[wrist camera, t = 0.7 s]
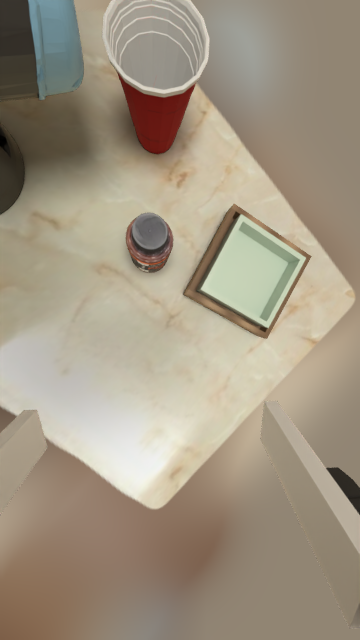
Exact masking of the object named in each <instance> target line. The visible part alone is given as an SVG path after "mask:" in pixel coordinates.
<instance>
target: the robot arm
mask: <svg viewBox="0 0 360 640" xmlns="http://www.w3.org/2000/svg"><path fill="white" fill-rule="evenodd" d="M83 75H84V63H83V55H82V48H81V41H80V35H79V29H78V23H77V17H76V11H75V5H74V0H0V102H1V101H10V100H19V99H28V98H37V97H38V98H39V100H44V99H45V97H46V96H49V95H54V94H60V93H66V92H71V91H74V90H76V89H77V88H78V87H79V86H80V84H81V82H82V79H83ZM23 181H24V164H23V159H22V156H21V153H20V150H19V148H18V146H17V144H16V142H15V141H14V139H13V138H12V136H11V135H10V134H9V132H8V131H7V130H6V129H5V128H4V127H3V125H2V124H1V123H0V213H2V212H4V211H5V210H7V209H8V208H9V207H10V206H11V205H12V204H13V203H14V202H15V200H16V199H17V197H18V196H19V194H20V192H21V189H22V186H23ZM260 439H261V441H262V444H263V446H264V448H265V450H266V452H267V454H268V456H269V459H270V461H271V462H272V465H273V467H274V469H275V471H276V473H277V476H278V478H279V480H280V482H281V484H282V486H283V488H284V490H285V492H286V495H287V497H288V499H289V501H290V503H291V505H292V507H293V510H294V511H295V514H296V516H297V518H298V520H299V522H300V524H301V526H302V529H303V531H304V533H305V535H306V537H307V539H308V541H309V544H310V545H311V548H312V550H313V552H314V554H315V556H316V559H317V561H318V563H319V565H320V567H321V569H322V571H323V573H324V576H325V578H326V580H327V582H328V584H329V586H330V588H331V591H332V592H333V595H334V597H335V599H336V601H337V603H338V605H339V607H340V610H341V612H342V614H343V616H344V618H345V620H346V622H347V624H348V626H349V628H360V488H359V487H358V485H357V484H356V483H355V482H354V481H353V479H351V478H350V477H349V476H348V475H346V474H345V473H344V472H343V471H342V470H340V469H339V468H325V466H324V465H323V464H322V462H321V461H320V460H319V458H318V457H317V455H316V454H315V453H314V451H313V450H312V448H311V447H310V446H309V444H308V443H307V442H306V440H305V439H304V437H303V436H302V435H301V433H300V432H299V430H298V429H297V428H296V426H295V425H294V423H293V422H292V421H291V419H290V418H289V417H288V415H287V414H286V412H285V411H284V410H283V408H282V407H281V405H280V404H279V403H278V401H265V402H264V409H263V418H262V428H261V438H260ZM46 448H47V444H46V440H45V437H44V433H43V430H42V426H41V422H40V419H39V415H38V412H37V410H24V411H23V412H22V413H21V414H20V415H18V416H17V417H16V418H15V419H14V420H13V421H12V422H11V423H10V424H9V425H8V426H7V427H6V428H5V429H4V430H3V431H2V432H1V433H0V515H1V513H2V512H3V510H4V509H5V508H6V506H7V505H8V503H9V502H10V500H11V499H12V498H13V496H14V494H15V493H16V492H17V490H18V489H19V488H20V486H21V485H22V483H23V482H24V480H25V479H26V477H27V476H28V474H29V473H30V472H31V470H32V469H33V467H34V466H35V465H36V463H37V462H38V460H39V459H40V457H41V456H42V454H43V453H44V452H45V450H46Z"/></svg>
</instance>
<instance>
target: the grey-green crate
mask: <svg viewBox="0 0 360 640" xmlns="http://www.w3.org/2000/svg"><path fill="white" fill-rule="evenodd" d="M305 260H306V257H304V256H303V255H301V254H300V253H298V252H297V251H295V250H294V249H292V248H291V247H289V246H288V245H286V244H285V243H283V242H282V241H281V240H279V239H278V238H276V237H275V236H273V235H272V234H270V233H269V232H267V231H266V230H264V229H263V228H261V227H260V226H258V225H257V224H255V223H254V222H252V221H251V220H250V219H248V218H247V217H245V216H244V215H242V214H241V215H240V216H238V217H237V218H236V219H235V220H234V221H233V222H232V224H231V226H230V227H229V229H228V231H227V233H226V235H225V237H224V239H223V240H222V242H221V244H220V246H219V248H218V250H217V252H216V254H215V255H214V257H213V259H212V261H211V263H210V265H209V267H208V269H207V270H206V272H205V274H204V276H203V278H202V280H201V282H200V284H199V285H198V287H197V289H196V291H197V292H199V293H201V294H202V295H204V296H206V297H208V298H209V299H211V300H213V301H215V302H216V303H218V304H220V305H222V306H223V307H225V308H227V309H229V310H230V311H232V312H234V313H236V314H237V315H239V316H241V317H243V318H244V319H246V320H248V321H250V322H251V323H253V324H255V325H257V326H261V327H265V328H269V326H270V324H271V322H272V321H273V319H274V317H275V315H276V313H277V311H278V310H279V308H280V306H281V304H282V302H283V300H284V298H285V297H286V295H287V293H288V291H289V289H290V287H291V285H292V284H293V282H294V280H295V278H296V276H297V274H298V273H299V271H300V269H301V267H302V265H303V263H304V261H305Z"/></svg>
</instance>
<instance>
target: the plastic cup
mask: <svg viewBox="0 0 360 640" xmlns="http://www.w3.org/2000/svg"><path fill="white" fill-rule="evenodd" d="M102 38H103V41H104V45H105V48H106V51H107V54H108V57H109V60H110V62H111V64H112V66H113V67H114V68H115V69H116V71H117V73H118V76H119V79H120V81H121V84H122V87H123V89H124V93H125V96H126V100H127V103H128V107H129V110H130V114H131V117H132V120H133V124H134V126H135V130H136V133H137V136H138V139H139V141H140V143H141V144H142V146H143V147H144V148H145V149H146V150H148V151H149V152H151V153H156V154H160V153H164V152H166V151H167V150H168V149H169V148H170V147H171V145H172V143H173V141H174V139H175V137H176V134H177V131H178V129H179V127H180V125H181V122H182V119H183V116H184V113H185V111H186V108H187V105H188V102H189V99H190V96H191V94H192V92H193V90H194V87H195V84H196V83H197V82H198V79H199V78H200V76H201V74H202V72H203V70H204V68H205V66H206V64H207V61H208V54H209V41H210V39H209V35H208V32H207V29H206V25H205V22H204V19H203V17H202V16H201V14H200V13H199V12H198V10H197V9H196V7H195V6H194V5H193V3H192V2H191V0H111V2H110V4H109V6H108V8H107V10H106V12H105V14H104V16H103V32H102Z"/></svg>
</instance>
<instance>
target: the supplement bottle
mask: <svg viewBox="0 0 360 640" xmlns="http://www.w3.org/2000/svg"><path fill="white" fill-rule="evenodd" d="M126 244H127V247H128V250H129V253H130V255H131V258H132V261H133V263H134V264H135V265H136V266H137V267H138V268H139V269H140V270H142V271H144V272H156V271H158V270H160V269H161V268H162V267H163V266H164V265H165V263H166V262H167V259H168V257H169V255H170V253H171V250H172V247H173V235H172V231H171V229H170V227H169V226H168V224H167V223H166V222H165V221H164V220H163V219H162V218H161V217H160V216H158V215H156V214H154V213H144V214H141V215H140V216H138V217H137V218H135V219H134V220H133V221H132V222H131V223H130V225H129V226H128V229H127V232H126Z"/></svg>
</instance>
